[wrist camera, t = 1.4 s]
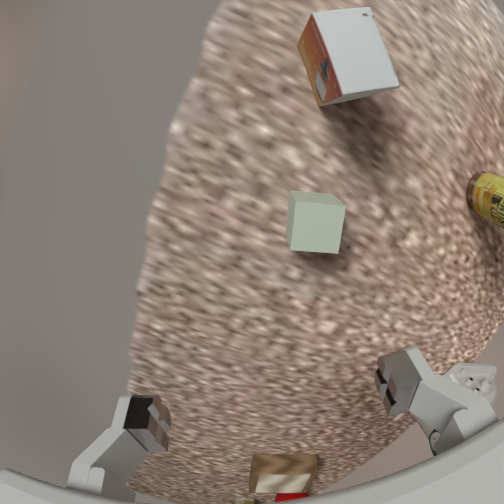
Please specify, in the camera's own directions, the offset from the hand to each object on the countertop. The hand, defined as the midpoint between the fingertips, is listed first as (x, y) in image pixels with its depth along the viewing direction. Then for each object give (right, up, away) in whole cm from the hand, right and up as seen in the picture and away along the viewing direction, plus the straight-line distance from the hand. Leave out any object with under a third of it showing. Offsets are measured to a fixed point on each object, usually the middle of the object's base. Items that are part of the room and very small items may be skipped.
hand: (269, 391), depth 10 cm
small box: (+8, +25, +19) cm, 32 cm away
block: (+6, +10, +25) cm, 27 cm away
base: (+6, -45, +47) cm, 65 cm away
